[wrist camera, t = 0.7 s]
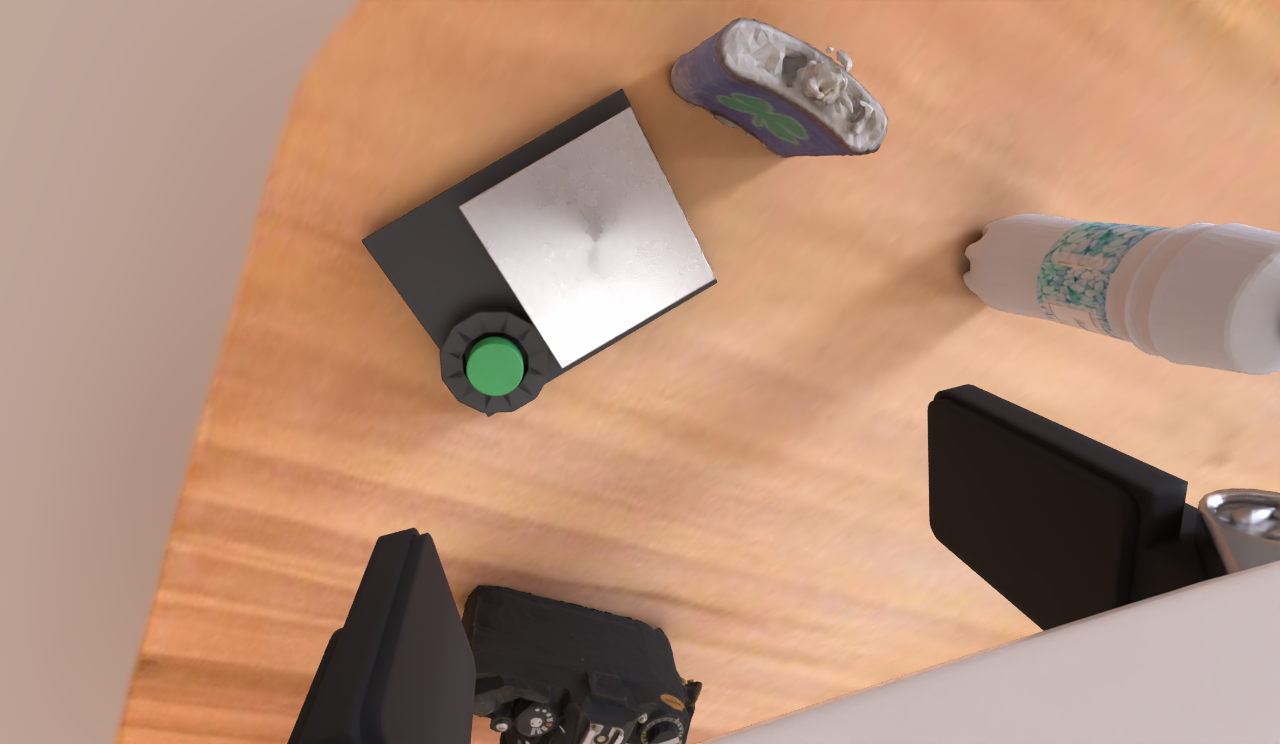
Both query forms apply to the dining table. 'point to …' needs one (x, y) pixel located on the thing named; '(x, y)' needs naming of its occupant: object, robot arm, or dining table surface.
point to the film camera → (573, 673)
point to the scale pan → (590, 238)
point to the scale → (479, 274)
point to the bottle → (1141, 285)
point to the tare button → (495, 366)
